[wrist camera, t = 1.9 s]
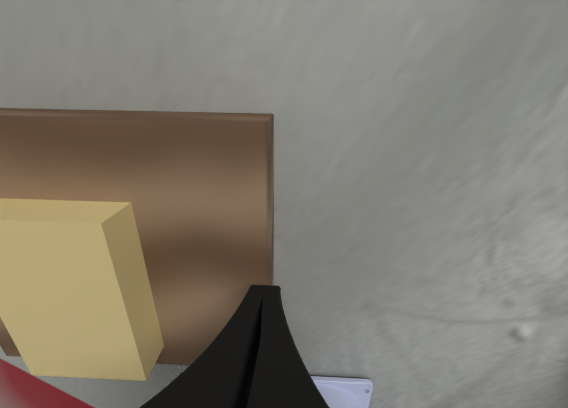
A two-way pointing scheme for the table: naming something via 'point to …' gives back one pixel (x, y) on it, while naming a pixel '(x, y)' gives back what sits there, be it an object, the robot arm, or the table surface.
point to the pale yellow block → (77, 289)
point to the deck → (161, 201)
